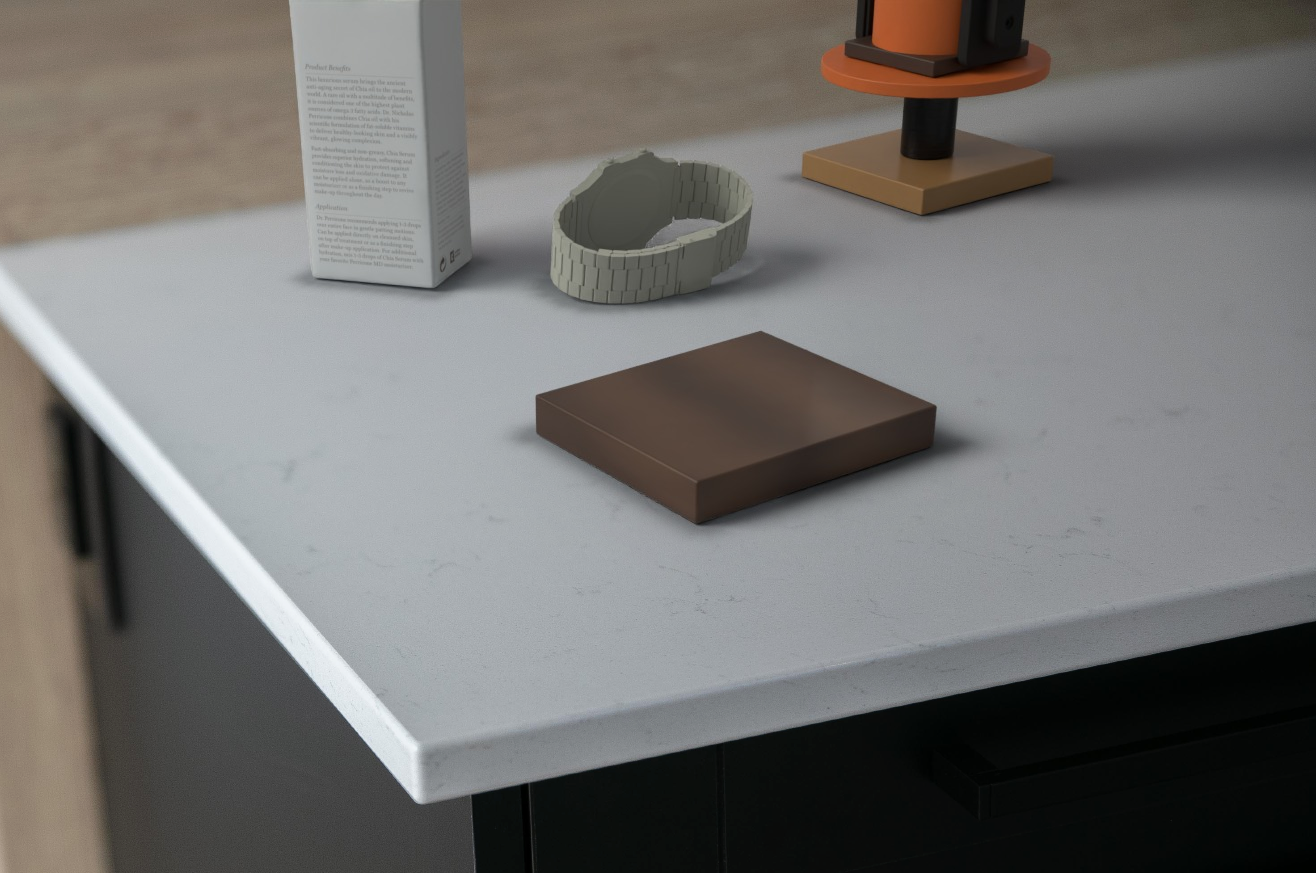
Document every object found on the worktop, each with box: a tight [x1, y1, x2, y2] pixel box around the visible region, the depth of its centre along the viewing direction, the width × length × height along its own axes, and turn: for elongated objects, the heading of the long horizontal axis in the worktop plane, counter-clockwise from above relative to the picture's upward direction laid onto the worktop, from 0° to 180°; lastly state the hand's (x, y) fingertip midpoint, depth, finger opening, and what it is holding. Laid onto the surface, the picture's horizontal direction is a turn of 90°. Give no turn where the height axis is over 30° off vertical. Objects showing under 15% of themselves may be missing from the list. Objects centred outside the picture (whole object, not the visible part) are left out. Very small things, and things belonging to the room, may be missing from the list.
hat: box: [820, 0, 1052, 99], centre depth 87 cm, size 10×10×6 cm
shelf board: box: [535, 330, 938, 524], centre depth 66 cm, size 10×9×2 cm
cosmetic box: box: [288, 0, 473, 289], centre depth 82 cm, size 6×4×12 cm
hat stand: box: [801, 97, 1055, 216], centre depth 90 cm, size 8×8×5 cm
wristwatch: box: [550, 146, 754, 304], centre depth 80 cm, size 9×6×5 cm
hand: (935, 45), depth 88 cm, fingers closed on hat, 5 cm apart
